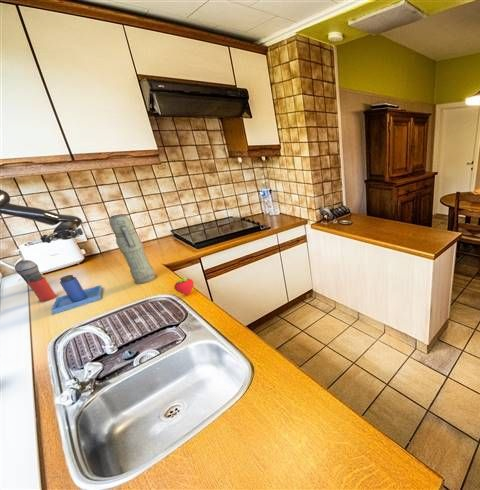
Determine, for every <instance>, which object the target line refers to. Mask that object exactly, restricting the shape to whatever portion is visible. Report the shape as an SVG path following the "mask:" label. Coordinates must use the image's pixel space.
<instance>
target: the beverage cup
mask: <svg viewBox="0 0 480 490" xmlns="http://www.w3.org/2000/svg"><path fill="white" fill-rule="evenodd" d="M19 255H20V256H21V259H22V260H20V261H18V262H16V264H15V265H14V271H15V272H16V273H17V274H18V275H19V276H20V277H21V278H22V280H23V281H24V282H25V283H26V284H27V285H28V286H29V287H30V285H29V284H28V281H29V280H28V278H30V277H32V276H36V275H41V276H42V274H41V272H40V269H39V266H38V264H37V263H36V262H35V261H33V260H28V259H27V260H26V259H25V257H24V255H23V253H22V251H19Z"/></svg>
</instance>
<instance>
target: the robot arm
mask: <svg viewBox="0 0 480 490" xmlns="http://www.w3.org/2000/svg"><path fill="white" fill-rule="evenodd" d="M10 202H11V196H10V194H9V193H8V192H6V191H5V190H3V189H0V214H2V215H7V216H12V217H16V218H20V219H21V218H22V219H26V220H29V221H32V222H33V221H34V222H37V223H41V224H44V225H48V226H56V225H57V226H56V227H55V228H54V229H53V232H52V233H50V234H43V235H41V237H39V238H40V240H41V242H42V243H46V244H50V243H52V242H55V241H58V240H63V241H65V240H71V239H75V238H76V237H78V236H83V235H84V231H83V229H82V228H81V227H80V226H81V225H82V224H83V220H82V219H81V218H80V217H78V216H76V215H72V214H62V213H56V212H54V211H50V210H47V209H44V208H39V207H34V206H26V205H19V204H15V203H10Z"/></svg>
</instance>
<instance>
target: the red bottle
mask: <svg viewBox="0 0 480 490" xmlns="http://www.w3.org/2000/svg"><path fill="white" fill-rule="evenodd" d="M28 280H29V281H28V284H29V285H30V286H29V285H28V284H27V285H28V286H29V287H30V288H31V290H32V292H33V293H34V295H35V296H36V297H37V299H38V301H39V302H41V303H43V302H49V301H51V300H54V299H56V298H57V295H56V293H55V292H54V290H53V288H52V286H51V285H50V284H49V282H48V281H47V279H46V277H45V276H42V274H41V275H36V276H32V277H30V278H28Z"/></svg>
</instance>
